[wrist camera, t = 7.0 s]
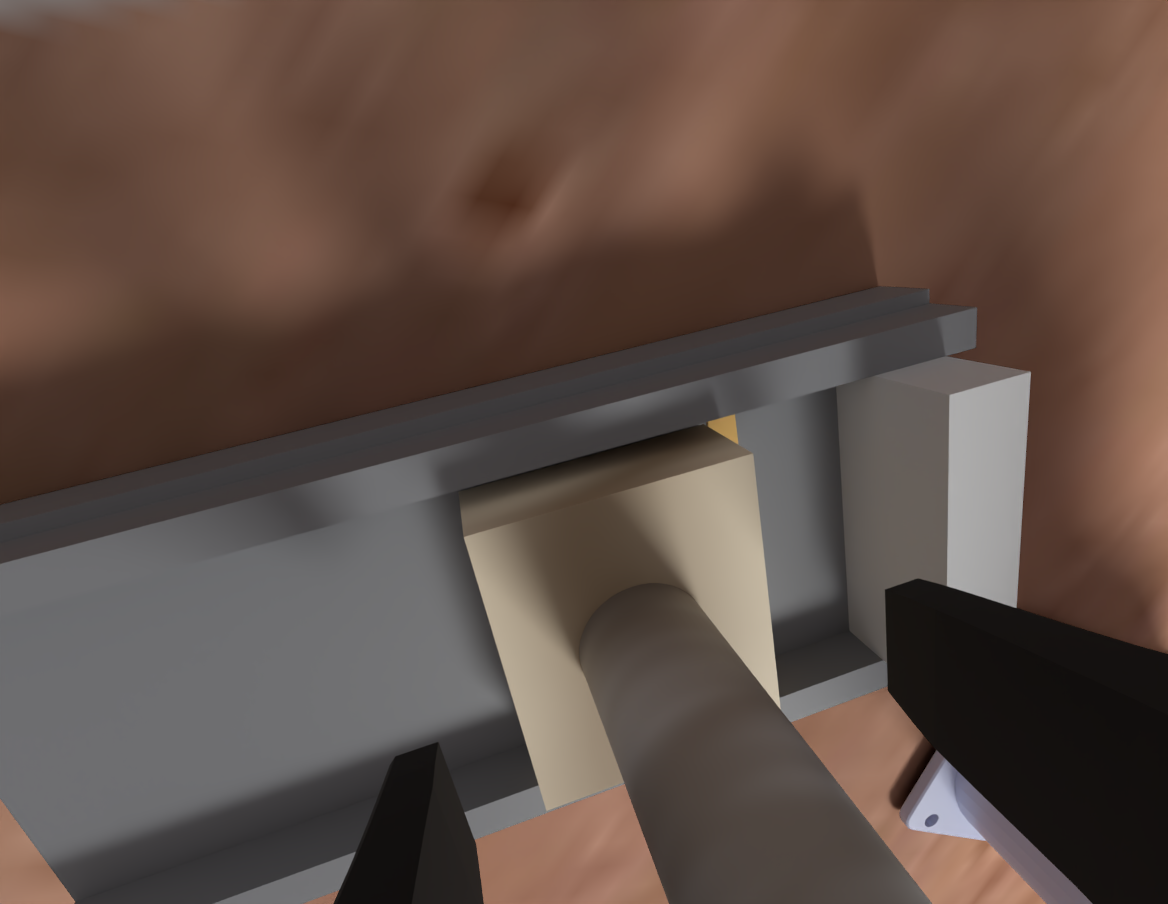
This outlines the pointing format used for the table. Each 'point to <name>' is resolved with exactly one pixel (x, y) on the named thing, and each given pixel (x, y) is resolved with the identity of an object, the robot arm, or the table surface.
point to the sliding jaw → (667, 670)
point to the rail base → (452, 588)
